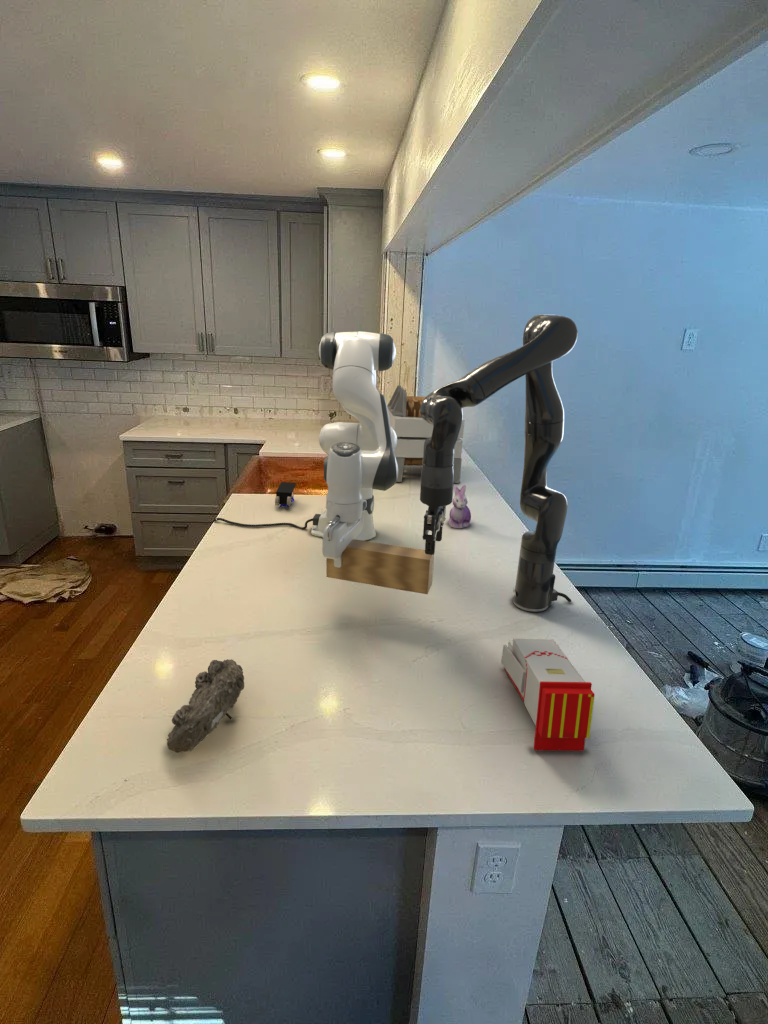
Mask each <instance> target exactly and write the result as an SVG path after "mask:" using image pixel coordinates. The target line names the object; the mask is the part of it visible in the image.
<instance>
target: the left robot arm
mask: <svg viewBox="0 0 768 1024" xmlns="http://www.w3.org/2000/svg"><path fill="white" fill-rule="evenodd" d="M318 344H319V345H318V356H319V360H320V362H321V365H322V366H324V367H325V368H326V369H328V370H333V371H332V393H333V395H334V397H335V399H336V401H337V402H338V403H339V404H340V405H341V407H342V409H343V410H344V411H345V413H347V414H348V415H350V416H352V417H353V418H355V419H356V420H357V421H358V422H348V421H336V422H330V423H325V424H324V425H323V426H322V427H321V429H320V431H319V434H318V442H319V446H320V448H321V450H322V451H323V452H324V453H325V454H327V456H326V457H325V458H324V460H323V480H324V482H325V484H326V485H327V493H326V498H325V502H326V503H325V510H323V512H321V513H315V514H314V515H313V517H312V518H309V519H307V520H306V521H305V522H304V526H303V527H301V526H299V525H297V524H294V523H291V522H275V523H274V522H273V523H261V524H260V523H259V524H250V523H249V524H247V523H241V522H235V521H231V520H228V519H225V518H222V517H217V518H213V520H212V523H215V522H217V521H221V522H224V523H227V524H229V525H236V526H239V527H245V528H246V527H247V528H262V527H263V528H264V527H275V526H276V527H277V526H291V527H293V528H296V529H299V530H306V529H307V528H308V524H309V523H310V522H312V528H311V530H310V533H311V536H315V537H319V538H322V546H321V547H322V549H321V553H322V557H323V558H324V559H327V558H329V559H334V566H335V567H338V568H340V567H341V566H342V564H343V559H341V555H342V552H343V551H344V550H345V549H346V547H347V546H348V545H349V544H350V543H351V542H352V540H353V539H355V540H362V541H368V540H372V539H373V538H375V537H376V535H377V532H376V528H375V523H374V513H373V512H374V509H375V496H374V490H377V491H383V492H385V491H387V490H389V489H390V488H392V487H393V486H394V485H395V484H396V483H397V482H396V481H397V478H398V464H397V460H396V457H395V454H394V450H395V448H396V446H397V435H396V433H395V431H394V429H393V428H392V427H391V426H390V420H389V414H388V408H387V405H388V404H387V400H386V397H385V395H384V394H382V393H381V392H379V390H378V389H377V371H378V372H384V371H387V370H389V369H390V368H393V364H394V362H395V360H396V356H397V348H396V343H395V342H394V338H393V337H392V336H391V335H390V334H386V333H383V332H380V333H377V332H369V331H341V332H336V331H331V332H326V333H325V334H324V335H322V336H321V339H320V342H319V343H318ZM216 519H217V520H216Z"/></svg>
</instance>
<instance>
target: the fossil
mask: <svg viewBox="0 0 768 1024" xmlns="http://www.w3.org/2000/svg"><path fill="white" fill-rule="evenodd" d="M243 670H244V669H243V667H242V665H240V664H237V662H236V661H235V660H234V659H232V658H231V659H227V658H226V659H224V660H223V661H222V660H217V659H212V660H211V661H210V663H209V665H208V666H207V671H201V672H199V673H198V674H197V675H196V676H195V680H194V684H195V685H194V687H195V689H194V690H193V693H192V694H191V697H190V698H189V700H188V704H184V705H182V706H181V707H180V709H177V710H176V711H175V713H174V715H173V716H172V718H171V723H172V724H173V727H172V730H171V731H170V732H168V734H167V738H166V741H167V742H166V745H167V749H168V750H169V751H173V752H174V753H176V754H178V753H182V752H188V751H189V752H192V751H193V750H195V748H196V747H197V746H199V744H200V743H201V742H203V741H204V740H205V739H206V738H207V737H208V736H209V735H210V734H211V733H212V732H214V730H215V729H217V727H218V726H219V724H220V722H221V721H222V720H223V719H224V718H225V716H226V717H227V719H229V720H233V717H232V715H230V714H229V710H230V709H231V708H234V706H235V704H236V703H237V702H238V699H239V697H240V695H241V693H242V691H243V690H245V689H244V688H245V675H244V671H243Z"/></svg>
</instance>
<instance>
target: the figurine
mask: <svg viewBox="0 0 768 1024" xmlns="http://www.w3.org/2000/svg"><path fill="white" fill-rule="evenodd" d="M466 489H467V485H465V484H463V485H462V486H461V488H460V489H459V488H458V486H457V485H453V499H452V505H453V506H452V508H450V510H449V515H448V516H449V518H448V524H449V526H450V527H451V528H454V529H462V528H467V527H469V526H470V523H471V519H472V513H471V510H470V508H469V507H468V503H469V502H468V498H467V496H466Z"/></svg>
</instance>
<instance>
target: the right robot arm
mask: <svg viewBox="0 0 768 1024" xmlns="http://www.w3.org/2000/svg"><path fill="white" fill-rule="evenodd" d="M578 336H579V329H578V327H577V324H576V323H575V321H574V320H573V319H572V318H570V317H568V316H564V315H560V314H546V313H545V314H542V313H541V314H535V315H533V316H532V317H531V318H530V319H528V320H527V323H526V324H525V326H524V329H523V333H522V346H520V347H517V348H516V349H515V350H512V351H510V352H509V351H508V352H506V353H504V354H502V355H499V356H497V357H494V358H491V359H489V360H487V361H486V362H483V363H481V364H480V365H478V366H477V367H475V368H474V369H473V370H471V371H468V372H467V373H466V374H465V375H464V376H462V377H461V378H459V379H458V380H455V381H452V382H450V383H448V384H446V385H443V386H440V387H439V388H436V389H435V390H433V391H432V392H430V393H429V394H428V395H426V396H424V397H425V399H424V400H423V401H422V403H421V406H420V414H421V417H422V418H423V419H424V420H425V421H426V422H427V423H429V424H432V425H433V431H432V436H431V437H429V438H427V439H426V440H425V442H424V449H423V465H422V466H421V472H420V492H419V500H420V503H422V504H423V505H426V506H427V509H426V510H425V514H424V516H423V529H422V540H424V541H425V543H424V550H425V554H429V555H434V556H435V552H436V542H441V541H442V540H443V529H444V528H443V527H444V525H445V521H446V519H447V518H446V511H447V507H448V506H449V505H451V504H453V498H454V484H455V483H454V448H455V444H456V441H457V439H458V435H459V432H460V429H461V425H462V420H463V419H464V412H463V409H464V408H470V407H472V408H473V407H476V406H478V405H480V404H482V403H483V402H484V401H486V400H487V399H489V398H490V397H492V396H494V395H495V394H496V393H498V392H500V391H501V390H502V389H504V388H505V387H507V386H508V385H510V384H511V383H513V382H516V381H517V380H518V379H520V378H522V377H524V376H525V411H524V412H525V413H524V454H523V455H524V457H523V469H522V471H523V472H522V480H521V488H520V495H519V507H520V511H521V513H522V514H523V515H524V516H525V517H526V518H528V519H531V520H532V521H535V522H536V526H535V530H529V531H528V530H527V531H525V532H524V533H523V534H522V535H521V541H520V548H519V549H520V550H519V557H518V564H517V570H516V578H515V585H514V588H512V592H513V598H512V603H513V605H514V606H515V607H516V608H518V609H519V610H521V611H522V610H523V611H526V612H530V613H540V612H544V611H546V610H547V609H548V608H551V606H552V602H556V601H558V597H562V598H564V599H565V600H566V601H567V602H568V603H572V599H571V598H570V597H569V596H568V595H567V594H566V593H562V592H560V591H558V590H556V589H555V582H556V574H555V573H554V568H555V562H556V556H557V549H558V545H559V543H560V541H561V539H562V537H563V532H564V528H565V522H566V519H567V513H568V505H569V504H568V499H567V497H566V495H565V494H563V492H560V491H558V490H555V489H552V488H550V487H548V484H547V475H548V474H547V473H548V467H549V464H550V462H551V460H552V458H553V457H554V456H555V455H556V452H557V451H558V449H560V446H561V444H562V443H563V439H564V434H565V433H564V432H565V431H564V430H565V408H564V406H563V402H562V398H561V396H560V393H559V391H558V389H557V386H556V383H555V379H554V376H553V362H554V361H556V360H559V359H560V358H562V357H563V356H566V355H568V354H569V353H570V352H571V351H572V350H573V348H574V347H575V345H576V343H577V340H578ZM429 531H430V532H431V534H429Z"/></svg>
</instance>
